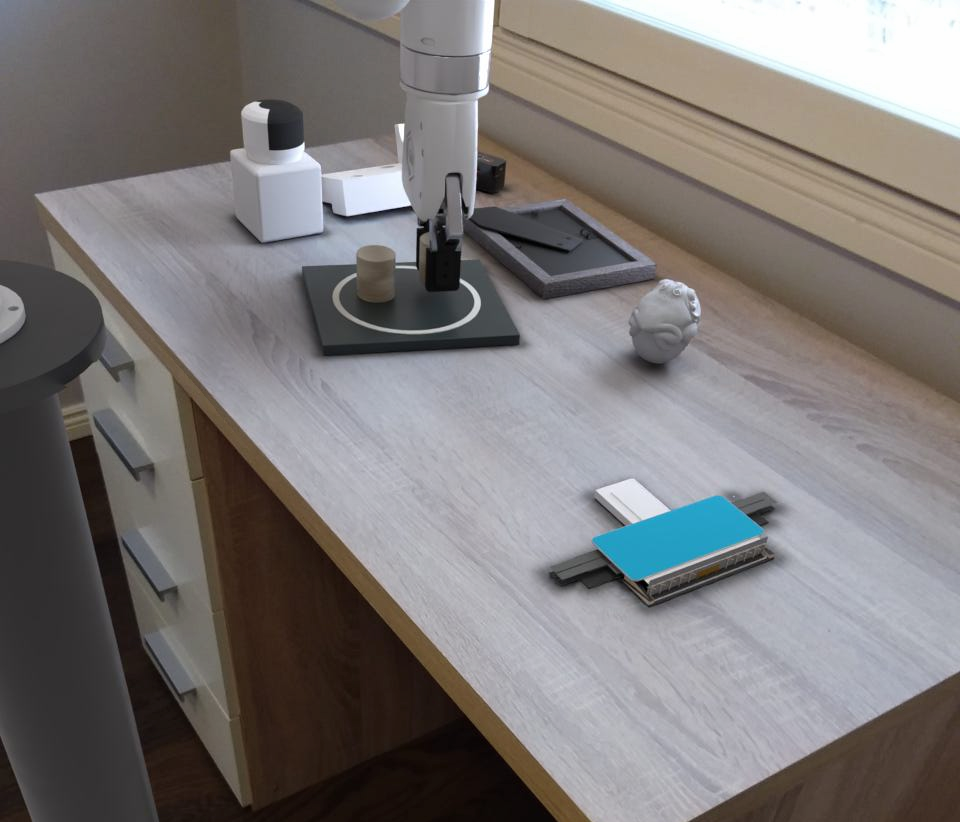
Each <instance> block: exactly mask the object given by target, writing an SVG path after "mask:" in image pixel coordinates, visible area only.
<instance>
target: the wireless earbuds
mask: <svg viewBox="0 0 960 822" xmlns="http://www.w3.org/2000/svg"><path fill="white" fill-rule="evenodd" d="M506 170H507V159H505V158H501V157H498V156H495V155H492V154H488V153H485V152H481V151H478V150H477V174H476V189H477V190H480V191H483V192H487V193H490V194H494V193H497V192H499V191H500V190H502V189H504V187H505V183H506V182H505V181H506V172H507V171H506Z"/></svg>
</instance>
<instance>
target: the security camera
mask: <svg viewBox="0 0 960 822" xmlns="http://www.w3.org/2000/svg"><path fill="white" fill-rule="evenodd" d="M240 118H241V128H242V140H243V147H242V148H235V149H231V150H230V151H229V158H230V168H231V177H232V188H233V189H232V190H233V200H234V210H235V216H236V219H237V220H238V221H239V222H240V223H241V224H242V225H243V226H244V227H245V228H246V229H247V230H248V231H249V232H250V233H251V234H252V235H253V236H254V237H255V238H256V239H257V240H258V241H259V242H260V243H261V244H265V243H271V242H276V241H282V240H289V239H294V238H299V237H306V236H312V235H317V234H322V233H323V232H324V211H323V202H322V181H321V175H322V166H321V164H320V163H319V162H318V161H317V160H315V159H314V158H313V157H312V156H310V155H309V154H308V153H307V152H306V151H305V149H306V147H305V131H304V112H303V110H301V108H299V106H298V105H295V104H293V103H291V102H289V101H285V100H281V99H273V98H272V99H270V98H269V99H259V100H256V101H252V102H251V103H248V104H246V105H244V107H243V108H242V110H241V112H240Z"/></svg>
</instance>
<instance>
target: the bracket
mask: <svg viewBox="0 0 960 822" xmlns="http://www.w3.org/2000/svg"><path fill="white" fill-rule="evenodd" d="M393 125H394V132H395V133H394V135H395V144H396V154H397V163H391V164H383V165H378V166H376V165H375V166H369V167H364V168H355V169H350V170H343V171H336V172H330V173H323V174H322V173H321V181H322V203H326V204H331V207H332V208H331V209H332V213H333V214H336V215H340V216H345V217H350V216H357V215H363V214H368V213H375V212H379V211H381V212H382V211H387V210H391V209H398V208H403V207H405V208H406V207H412V206H411V203H410V201H409V199H408V197H407V195H406V193H405V190H404V188H403V184H402V159H403V140H404V122H403V123H395V124H393Z"/></svg>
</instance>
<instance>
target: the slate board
mask: <svg viewBox="0 0 960 822" xmlns="http://www.w3.org/2000/svg"><path fill="white" fill-rule="evenodd" d="M301 276H302V279H303V283H304V287H305V291H306V294H307V298H308V302H309V306H310V311H311V314H312V318H313V321H314V325H315V328H316V329H315V330H316V333H317V337H318V340H319V345H320V348H321V351H322V355H323V356H335V355H353V354H354V355H355V354H372V353H373V354H374V353H389V352H391V353H392V352H405V351H407V352H408V351H426V350H427V351H428V350H443V349H445V350H446V349H461V348H476V347H477V348H479V347H495V346H496V347H497V346H515V345H520V340H521V334H520V332H519V330H518V329H517V326H516V325H515V322H514V321H513V319H512V318H511V315H510V313H509V312H508V310H507V308H506V306H505V304H504V302H503V300H502V299H501V297H500V295H499V293H498V291H497V289H496V287H495V286H494V283H493V281H492V280H491V278H490V277H489V274H488V273H487V271H486V269H485V267H484V265H483V263H482V262H481V259H479V258H477V259H461V267H460V287H459V289H458V290H457V291H442V292H428V291H427V290H426V288H425V286H424V285H423V284H421V283H420V281H419V271H418V270H417V267H416V261H404V262H403V261H402V262H401V261H400V262H396V265H395V297H394V298H393V299H392V300H390V301H387V302H382V303H373V302H368V301H364V300H362V299H361V298H359V297H358V295H357V263H353V264H352V263H351V264H323V265H322V264H321V265H302V266H301Z"/></svg>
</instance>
